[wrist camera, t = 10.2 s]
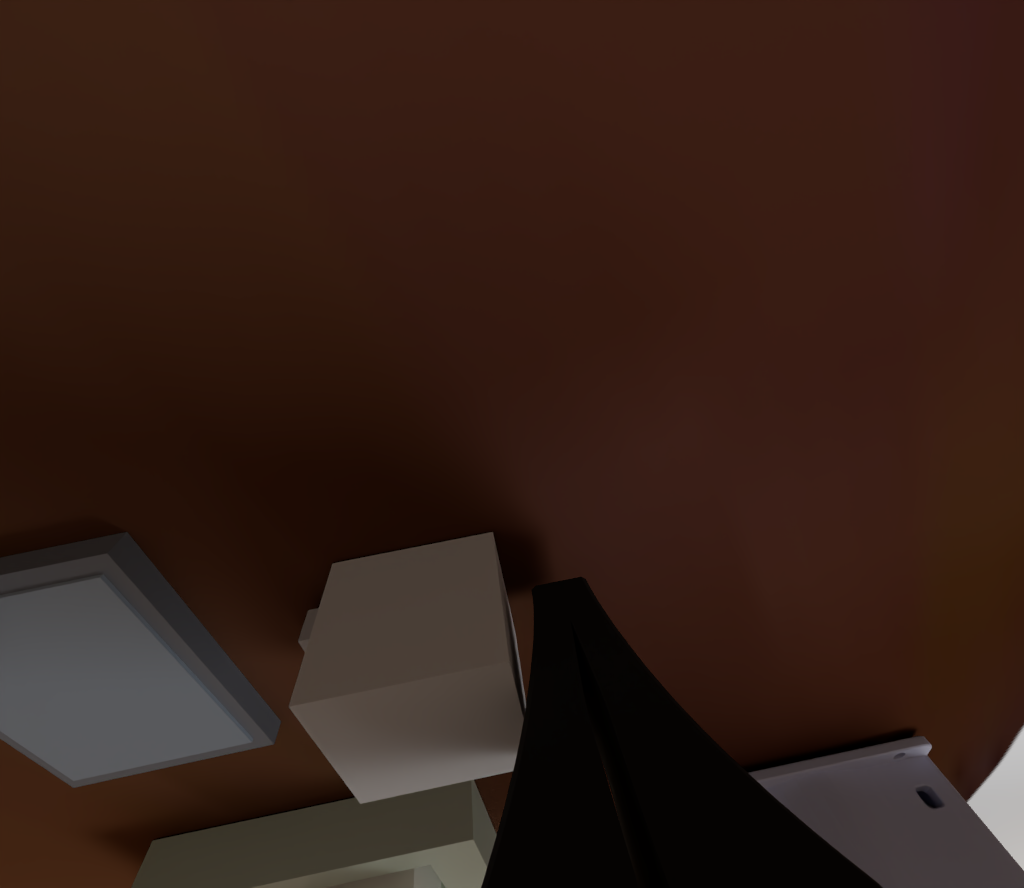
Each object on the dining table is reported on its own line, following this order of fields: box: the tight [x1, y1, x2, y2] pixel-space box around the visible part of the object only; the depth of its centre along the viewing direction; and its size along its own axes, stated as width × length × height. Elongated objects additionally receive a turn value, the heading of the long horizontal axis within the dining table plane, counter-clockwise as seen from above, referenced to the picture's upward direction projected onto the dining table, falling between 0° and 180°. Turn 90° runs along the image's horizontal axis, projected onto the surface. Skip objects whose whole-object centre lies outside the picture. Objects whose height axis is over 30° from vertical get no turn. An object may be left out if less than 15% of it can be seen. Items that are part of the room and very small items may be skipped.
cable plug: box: [289, 532, 526, 804], centre depth 11 cm, size 5×4×4 cm
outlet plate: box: [131, 780, 497, 888], centre depth 18 cm, size 12×9×2 cm
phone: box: [0, 532, 281, 788], centre depth 12 cm, size 6×8×1 cm
